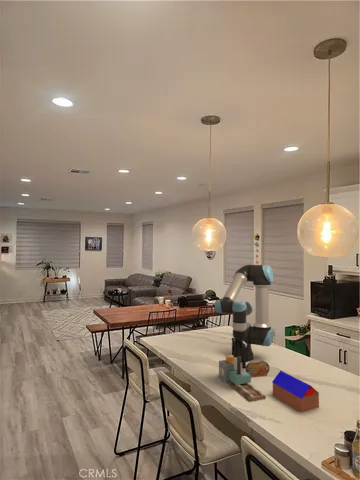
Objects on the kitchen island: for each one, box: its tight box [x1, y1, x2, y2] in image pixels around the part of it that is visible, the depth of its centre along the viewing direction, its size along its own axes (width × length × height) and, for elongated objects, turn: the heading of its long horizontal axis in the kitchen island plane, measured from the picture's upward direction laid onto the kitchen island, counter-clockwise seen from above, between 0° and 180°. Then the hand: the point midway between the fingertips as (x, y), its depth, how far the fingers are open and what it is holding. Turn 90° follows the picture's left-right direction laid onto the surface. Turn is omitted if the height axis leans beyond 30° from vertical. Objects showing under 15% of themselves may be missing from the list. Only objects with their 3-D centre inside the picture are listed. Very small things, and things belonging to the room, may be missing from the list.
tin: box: [246, 360, 270, 378], centre depth 188 cm, size 15×3×8 cm, turn 105°
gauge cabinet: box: [218, 359, 237, 384], centre depth 183 cm, size 12×8×10 cm, turn 110°
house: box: [271, 370, 320, 413], centre depth 158 cm, size 12×20×12 cm, turn 25°
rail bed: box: [228, 380, 267, 403], centre depth 168 cm, size 22×9×2 cm, turn 20°
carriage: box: [229, 356, 252, 385], centre depth 174 cm, size 8×9×13 cm
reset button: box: [225, 354, 234, 363], centre depth 183 cm, size 4×4×3 cm
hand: (239, 371), depth 174 cm, fingers open, 6 cm apart
